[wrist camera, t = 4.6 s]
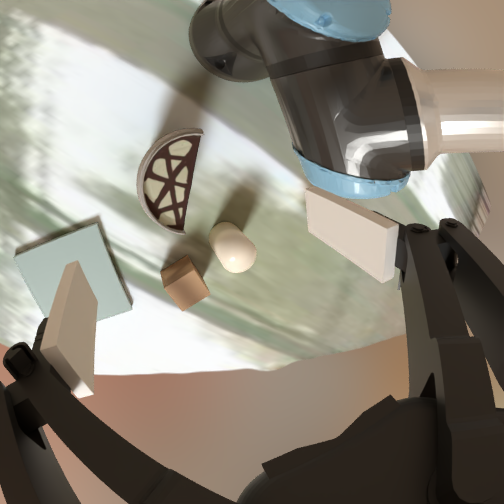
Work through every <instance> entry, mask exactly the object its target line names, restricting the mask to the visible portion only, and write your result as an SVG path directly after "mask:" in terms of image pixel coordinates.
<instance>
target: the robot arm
mask: <svg viewBox="0 0 504 504" xmlns="http://www.w3.org/2000/svg"><path fill="white" fill-rule="evenodd" d="M390 14H391V3H390V0H205V1H204V2H203V3H202V4H201V5H200V7H199V8H198V10H197V11H196V13H195V14H194V16H193V18H192V20H191V23H190V27H189V41H190V46H191V49H192V51H193V53H194V55H195V57H196V58H197V60H198V61H199V62H200V63H201V64H202V65H203V66H204V67H205V68H206V69H207V70H208V71H210V72H211V73H213V74H214V75H216V76H218V77H220V78H223V79H226V80H229V81H234V82H253V81H258V80H261V79H265V78H267V77H270V80H271V83H272V86H273V88H274V91H275V93H276V96H277V99H278V101H279V104H280V107H281V109H282V112H283V115H284V118H285V120H286V123H287V126H288V129H289V133H290V136H291V139H292V146H293V150H294V152H295V153H296V155H297V156H298V158H299V160H300V163H301V165H302V168H303V171H304V173H305V176H306V177H307V179H308V180H309V181H310V182H311V183H312V184H313V185H314V187H311V188H307V189H305V197H306V208H307V220H308V232H310V233H311V234H313V235H314V236H316V237H317V238H319V239H320V240H322V241H323V242H325V243H326V244H328V245H329V246H330V247H332V248H333V249H335V250H336V251H338V252H339V253H340V254H342V255H343V256H345V257H346V258H348V259H349V260H350V261H352V262H353V263H355V264H356V265H357V266H359V267H360V268H362V269H363V270H364V271H366V272H367V273H369V274H370V275H371V276H373V277H374V278H376V279H377V280H378V281H380V282H381V283H384V282H386V281H388V280H390V279H392V278H393V277H394V270H395V266H396V267H397V268H399V269H400V277H399V284H398V290H400V287H401V290H402V298H403V305H404V314H405V323H406V334H407V346H408V361H409V397H408V398H405V399H401V400H397V401H396V400H395V399H394V398H393V397H392V396H391V395H389V396H387V397H386V398H385V399H383V400H382V401H380V402H379V403H377V404H376V405H374V406H373V407H371V408H369V409H368V410H366V411H364V412H363V413H362V414H361V415H360V416H359V417H358V418H357V419H356V420H355V421H354V422H353V423H352V424H351V425H350V426H349V427H348V428H347V429H346V430H345V431H344V432H343V433H342V434H341V435H340V436H338V437H337V438H335V439H332V440H328V441H325V442H321V443H317V444H313V445H309V446H306V447H301V448H297V449H295V450H292V451H290V452H288V453H286V454H284V455H282V456H279V457H277V458H274V459H272V460H270V461H267V462H265V463H262V466H263V469H264V472H263V473H261V474H260V475H259V476H257V477H256V478H255V479H254V480H253V481H252V482H250V483H249V485H248V486H247V487H246V488H245V489H244V491H243V492H242V493H241V495H240V497H239V499H238V500H237V502H233V501H231V500H229V499H227V498H225V497H223V496H221V495H219V494H216V493H214V492H212V491H210V490H208V489H206V488H205V487H203V486H201V485H199V484H197V483H195V482H193V481H191V480H190V479H188V478H186V477H184V476H183V475H181V474H179V473H177V472H176V471H174V470H172V469H168V468H166V467H164V466H163V465H161V464H160V463H158V462H156V461H155V460H154V459H152V458H151V457H149V456H148V455H146V454H145V453H143V452H141V451H140V450H139V449H137V448H136V447H135V446H133V445H132V444H131V443H129V442H128V441H126V440H125V439H124V438H122V437H121V436H120V435H118V434H117V433H116V432H115V431H113V430H112V429H111V428H110V427H108V426H107V425H106V424H105V423H104V422H102V421H101V420H100V419H99V418H98V417H96V416H95V415H94V414H93V413H92V412H91V411H89V410H88V409H87V408H86V407H85V406H84V405H83V404H81V402H79V401H78V400H77V399H76V398H75V397H74V396H73V395H72V394H71V390H72V391H73V393H74V394H75V395H76V396H77V397H78V398H81V397H85V396H89V395H93V394H94V351H95V333H96V319H97V308H98V301H97V299H96V297H95V295H94V293H93V291H92V289H91V287H90V285H89V283H88V281H87V278H86V276H85V274H84V272H83V270H82V268H81V265H80V263H79V261H78V260H77V261H74V262H71V263H68V264H66V266H65V269H64V271H63V274H62V277H61V280H60V283H59V285H58V288H57V291H56V294H55V298H54V301H53V304H52V307H51V310H50V314H49V317H47V318H44V319H43V321H42V322H41V324H40V325H39V327H38V330H37V334H36V335H37V336H36V337H35V342H34V344H33V348H32V350H31V349H30V347H29V346H28V345H27V344H26V343H25V342H19V343H17V344H15V345H13V346H12V347H11V348H10V349H9V350H8V351H7V352H6V354H5V356H4V358H3V365H4V367H5V368H6V369H7V370H8V371H9V372H10V374H11V375H12V376H13V377H14V379H15V380H16V381H15V382H13V383H12V384H10V385H8V386H7V387H5V386H4V385H3V383H2V382H1V381H0V485H1V488H2V491H3V494H4V497H5V499H6V502H7V504H81V503H80V501H79V500H78V498H77V496H76V494H75V493H74V491H73V490H72V488H71V486H70V484H69V482H68V481H67V479H66V477H65V475H64V473H63V471H62V469H61V467H60V465H59V463H58V461H57V459H56V457H55V455H54V453H53V451H52V448H51V446H50V444H49V442H48V439H47V437H46V435H45V432H44V430H43V428H42V426H44V425H45V424H47V423H48V425H49V426H50V427H51V428H52V429H53V431H54V432H55V433H56V434H57V435H58V437H59V438H60V439H61V440H62V441H63V442H64V443H65V445H66V446H67V447H68V448H69V449H70V450H71V451H72V452H73V453H74V454H75V455H76V456H77V457H78V458H79V459H80V460H81V461H82V462H83V464H85V465H86V466H87V467H88V468H89V469H90V470H91V471H92V472H93V473H94V474H95V475H96V476H97V477H98V478H99V479H100V480H101V481H103V482H104V483H105V484H106V485H107V486H108V487H109V488H110V489H111V490H113V491H114V492H115V493H116V494H117V495H119V496H120V497H121V498H122V499H124V500H125V501H126V502H127V503H128V504H504V408H495V402H494V397H493V390H492V386H491V380H490V376H489V371H488V367H487V363H486V359H487V361H488V363H489V365H490V367H491V369H492V371H493V373H494V375H495V377H496V379H497V381H498V383H499V385H500V386H501V388H502V389H503V391H504V265H503V264H502V263H501V262H500V260H499V259H498V258H497V257H496V256H495V255H494V254H493V253H492V252H491V251H490V250H489V249H488V248H487V247H486V246H485V245H484V244H483V243H482V242H481V241H480V240H479V239H478V238H477V237H476V236H475V235H474V234H473V233H472V232H471V231H470V230H468V229H467V228H466V227H465V226H464V225H463V224H462V223H461V222H459V221H457V220H455V219H453V218H445V219H442V220H440V223H439V229H436V230H431V229H430V228H429V227H427V226H425V225H422V224H417V223H414V224H409V225H407V226H405V225H403V224H401V223H399V222H397V221H394V220H392V219H389V218H388V217H386V216H383V215H382V214H380V213H378V212H375V211H371V210H368V209H366V208H364V207H362V206H360V205H358V204H355V203H353V202H351V201H349V200H347V199H344V198H353V199H371V198H379V197H384V196H387V195H390V193H391V192H398V191H399V190H401V189H402V188H404V187H405V185H406V184H407V182H408V179H409V177H410V171H419V170H427V169H428V168H429V166H430V165H431V164H432V162H433V161H434V160H435V158H436V157H437V156H438V155H440V154H445V153H466V152H504V70H496V69H439V70H421V69H419V68H418V67H416V66H415V65H413V64H412V63H411V62H409V61H408V60H406V59H405V58H403V57H400V58H391V59H386V58H384V55H383V52H382V48H381V45H380V42H379V39H378V36H380V35H381V34H382V33H383V32H384V31H385V30H386V29H387V27H388V26H389V23H390V18H389V17H388V15H390ZM342 197H344V198H342ZM457 259H458V264H457ZM465 321H466V323H467V324H468V326H469V328H470V329H471V331H472V333H473V335H474V337H470V336H469V333H468V330H467V326H466V323H465ZM485 357H486V359H485Z"/></svg>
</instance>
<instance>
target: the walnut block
mask: <svg viewBox="0 0 504 504" xmlns="http://www.w3.org/2000/svg"><path fill="white" fill-rule="evenodd" d="M160 273H161V277H162V281H163V285H164V289H165V290H166V291H167V293H168V294H169V295H170V296H171V298H172V299H173V300H174V302H175V303H176V304H177V305H178V307H179V308H180V309H181V310H182V311H184V310H186V309H187V308H189V307H190V306H192V305H194V304H195V303H197V302H199V301H200V300H202V299H204V298H205V297H207V296H209V295H210V292H209V290H208V288H207V286H206V284H205V282H204V280H203V278H202V276H201V275H200V273H199V272H198V270H197V269H196V267H195V266H194V264H193V263H192V261H191V260H190V258H189V257H188V255H187V256H185V257H183V258H182V259H180V260H178V261H177V262H175V263H174V264H172V265H170V266H169V267H167V268H166V269H164V270H162V271H161V272H160Z"/></svg>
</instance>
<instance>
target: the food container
mask: <svg viewBox="0 0 504 504" xmlns="http://www.w3.org/2000/svg"><path fill="white" fill-rule="evenodd" d="M202 135H204V134H203V130H202V129H197V128H189V129H182V130H177V131H174V132H172V133H169V134H167V135H165V136H164V137H162V138H161V139H159V140H158V141H157V142H156V143H154V144H153V145H152V146H151V148H150V149H149V150H148V151H147V153H146V154H145V156H144V157H143V159H142V161H141V164H140V166H139V170H138V174H137V184H136V185H137V194H138V197H139V201H140V203H141V205H142V207H143V209H144V211H145V212H146V214H147V215H148V216H149V217H150V218H151V219H152V220H153V221H154V222H155V223H156V224H158V225H159V226H160V227H162V228H164V229H166V230H168V231H170V232H173V233H176V234H182V235H185V231H184V229H183V228H184V222H185V215H186V209H187V204H188V199H189V194H190V189H191V185H192V178H193V172H194V167H195V162H196V157H197V152H198V147H199V142H200V137H201V136H202Z"/></svg>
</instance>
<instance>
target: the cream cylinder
mask: <svg viewBox="0 0 504 504" xmlns="http://www.w3.org/2000/svg"><path fill="white" fill-rule="evenodd" d="M209 244H210V246H211V247H212V249H213V250H214V252H215V253H216V255H217V257H218V258H219V260H220V261H221V263H222V264H223V266H224V267H225V268H226V269H227V270H228V271H230V272H234V273H239V272H243V271H245V270H247V269H248V268H250V267H251V266H252V265H253V263H254V262H255V259H256V256H257V250H256V247H255V245H254V244H253V243H252V242H251V241H250V240H249V239H248V238H247V237H246V236H245V235H244V234H243V233H242V232H241V231H240V230H239V229H238V228H237V227H236V226H235V225H234V224H233V223H230V222H221V223H219V224H217V225H215V226H214V227H213V228H212V230H211V231H210V234H209Z"/></svg>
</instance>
